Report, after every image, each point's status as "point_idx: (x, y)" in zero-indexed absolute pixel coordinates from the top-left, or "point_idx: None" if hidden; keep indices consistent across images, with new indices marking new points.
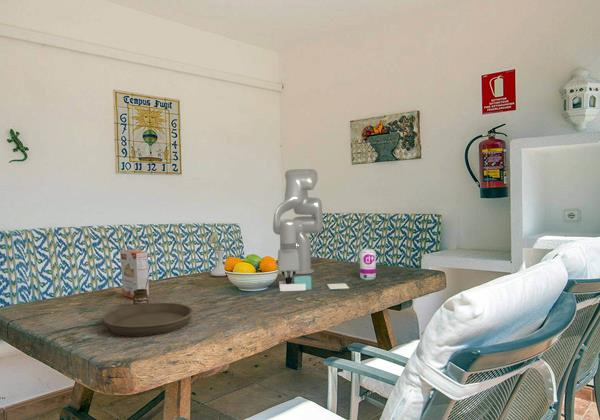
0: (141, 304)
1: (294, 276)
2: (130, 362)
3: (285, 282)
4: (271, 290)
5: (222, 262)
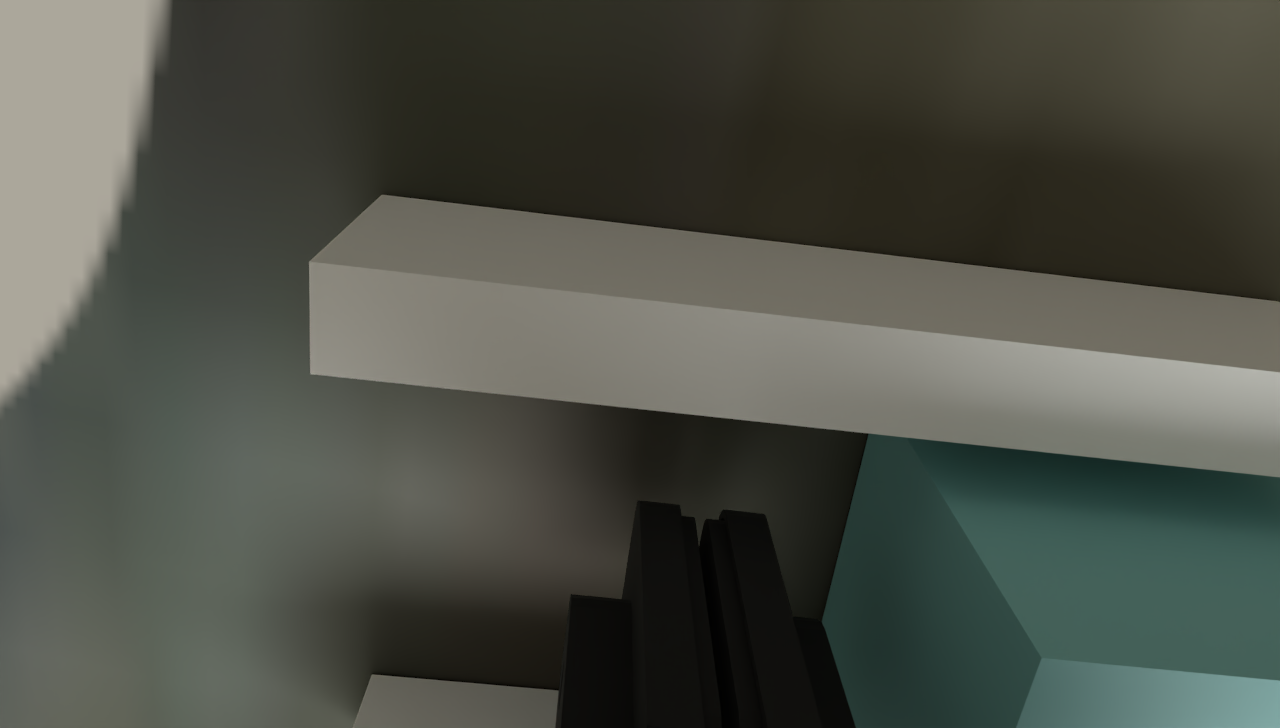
0: None
1: (1065, 723)
2: None
3: (607, 384)
4: (113, 578)
5: None
